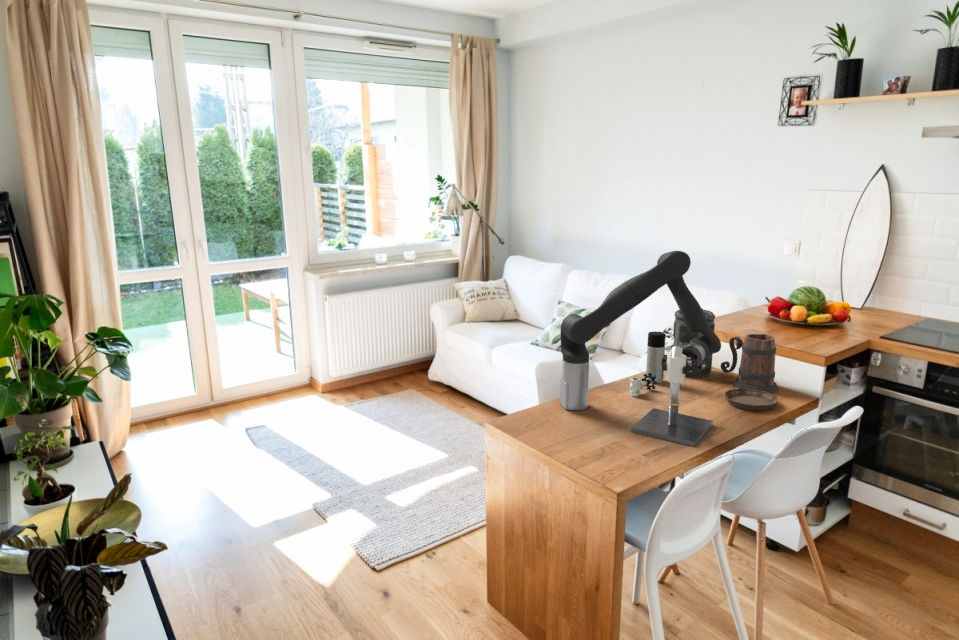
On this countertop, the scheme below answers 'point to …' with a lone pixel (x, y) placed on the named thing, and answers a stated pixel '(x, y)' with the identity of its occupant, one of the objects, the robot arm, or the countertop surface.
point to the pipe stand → (673, 419)
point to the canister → (684, 338)
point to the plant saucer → (751, 399)
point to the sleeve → (675, 369)
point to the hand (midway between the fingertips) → (674, 369)
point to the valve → (641, 384)
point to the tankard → (754, 362)
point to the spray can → (655, 355)
